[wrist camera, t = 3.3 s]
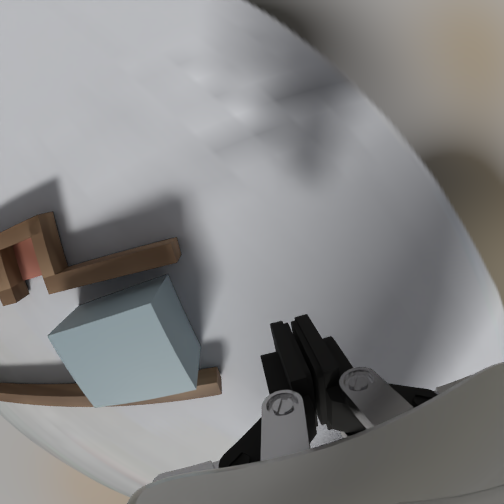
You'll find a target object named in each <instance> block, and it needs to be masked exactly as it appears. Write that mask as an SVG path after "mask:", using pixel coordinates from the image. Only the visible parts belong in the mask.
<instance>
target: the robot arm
mask: <svg viewBox="0 0 504 504" xmlns="http://www.w3.org/2000/svg"><path fill="white" fill-rule="evenodd" d="M270 326H271V331H272V335H273V340H274V345H275V349H276V352H273V353H269V354H265V355H261V360H262V364H263V369H264V373H265V377H266V381H267V385H268V390H269V394H270V395H269V396H267V397H266V398H265V400H264V401H263V404H262V417H261V418H260V419H259V420H258V421H257V422H256V423H255V424H254V425H253V427H252V428H251V429H250V430H249V431H248V432H247V433H246V434H245V435H244V436H243V437H242V438H241V439H240V440H239V441H238V442H237V443H236V444H235V445H233V446H232V447H231V448H230V449H229V450H228V451H227V452H226V453H225V454H224V455H223V456H222V458H221V459H220V461H216V462H213V463H212V461H208V462H204V463H201V464H197V465H193V466H190V467H186V468H182V469H178V470H174V471H169V472H165V473H162V474H159V475H158V476H157V477H156V478H154V480H153V482H152V483H149V484H147V485H145V486H143V487H141V488H140V489H138V490H137V491H136V492H135V493H134V494H133V495H132V496H131V497H130V499H129V501H128V503H127V504H504V362H502V363H498V364H495V365H492V366H490V367H487V368H485V369H483V370H481V371H479V372H477V373H475V374H473V375H470V376H468V377H465V378H462V379H460V380H457V381H454V382H452V383H449V384H446V385H443V386H440V387H437V388H436V390H435V391H432V390H429V389H423V388H415V387H408V386H401V385H395V384H388V383H387V382H385V381H384V380H383V379H382V378H381V377H380V376H379V375H378V374H377V373H376V372H375V371H373V370H372V369H369V368H366V367H357V368H353V367H352V365H351V364H350V362H349V361H348V359H347V358H346V356H345V355H344V353H343V352H342V350H341V349H340V347H339V346H338V344H337V343H336V341H335V340H334V339H333V337H331V336H330V337H327V338H323V339H322V338H321V336H320V334H319V333H318V331H317V330H316V328H315V326H314V325H313V323H312V321H311V320H310V318H309V317H308V315H307V314H305V315H302V316H298V317H295V321H292V322H291V326H292V331H291V329H290V327H289V325H288V323H284V324H283V322H282V321H279V322H275V323H271V324H270ZM292 332H293V333H292ZM317 416H318V418H319V420H320V423H321V425H323V424H326V425H327V427H328V430H331V429H335V430H339V431H341V435H342V437H343V439H340V440H337V441H334V442H331V443H328V444H325V445H322V446H318V447H315V448H312V449H311V448H310V442H311V441H312V440H313V438H314V437H315V436H316V434H317V431H316V427H317V426H318V422H317Z"/></svg>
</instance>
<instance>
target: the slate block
mask: <svg viewBox="0 0 504 504" xmlns="http://www.w3.org/2000/svg"><path fill="white" fill-rule="evenodd" d="M48 338H49V340H50V342H51V343H52V345H53V347H54V348H55V350H56V352H57V353H58V355H59V357H60V358H61V360H62V362H63V363H64V365H65V366H66V368H67V369H68V371H69V373H70V374H71V376H72V377H73V379H74V380H75V381H76V383H77V384H78V386H79V387H80V389H81V390H82V391H83V393H84V394H85V396H86V397H87V398H88V400H89V401H90V402H91V404H92V405H93V406H94V407H95V408H97V407H105V406H112V405H119V404H126V403H132V402H138V401H144V400H149V399H155V398H160V397H165V396H170V395H174V394H179V393H183V392H188V391H192V390H196V388H197V379H198V369H199V360H200V351H201V346H200V344H199V342H198V340H197V338H196V336H195V333H194V331H193V329H192V327H191V325H190V323H189V321H188V319H187V317H186V314H185V312H184V310H183V308H182V306H181V303H180V301H179V299H178V297H177V294H176V292H175V290H174V287H173V285H172V283H171V280H170V278H169V276H168V274H167V275H164V276H161V277H158V278H155V279H153V280H150V281H147V282H144V283H141V284H139V285H136V286H133V287H130V288H127V289H124V290H122V291H119V292H116V293H113V294H110V295H108V296H105V297H102V298H99V299H96V300H94V301H91V302H88V303H85V304H83V305H80V306H78V307H77V308H76V309H75V310H74V311H73V312H72V313H71V314H70V315H68V316H67V317H66V318H65V319H64V320H63V321H62V322H61V323H60V324H59V325H58V326H57V327H56V328H55V329H54V330H53V331H52V332H51V333H50V334H49V335H48Z"/></svg>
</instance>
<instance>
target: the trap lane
mask: <svg viewBox="0 0 504 504" xmlns="http://www.w3.org/2000/svg"><path fill="white" fill-rule="evenodd" d="M180 256H181V251H180V248H179V244H178V240H177V237H175V238H171V239H167V240H163V241H159V242H155V243H152V244H148V245H144V246H140V247H137V248H133V249H129V250H126V251H122V252H118V253H115V254H111V255H107V256H104V257H100V258H97V259H93V260H90V261H86V262H83V263H79V264H76V265H73V266H69V267H68V265H67V262H66V259H65V255H64V252H63V249H62V245H61V242H60V238H59V234H58V231H57V227H56V223H55V219H54V214H53V212H48V213H44V214H39V215H36V216H34V217H32V218H30V219H27V220H25V221H23V222H21V223H19V224H17V225H15V226H13V227H11V228H9V229H7V230H5V231H3V232H1V233H0V299H1V302H2V304H3V306H5V305H9V304H13V303H17V302H18V301H20V300H21V299H22V298H24V297H25V296H27V295H28V294H29V291H28V288H27V286H26V283H25V280H28V279H31V278H34V277H37V276H40V275H42V276H43V279H44V282H45V285H46V287H47V290H48V293H49V294H52V293H56V292H60V291H64V290H68V289H72V288H76V287H80V286H84V285H88V284H92V283H96V282H100V281H104V280H108V279H112V278H117V277H121V276H125V275H129V274H133V273H137V272H141V271H145V270H149V269H153V268H157V267H161V266H166V265H170V264H174V263H177V261H178V260H179V258H180ZM220 394H222V384H221V376H220V373H219V370H218V367H212V368H206V369H201V370H198V379H197V388H196V390H192V391H188V392H183V393H179V394H174V395H170V396H165V397H160V398H155V399H149V400H144V401H138V402H132V403H126V404H119V405H112V406H129V405H143V404H154V403H164V402H173V401H181V400H188V399H195V398H202V397H208V396H214V395H220ZM0 401H5V402H13V403H22V404H32V405H45V406H66V407H94V406H93V405H92V404H91V402H90V401H89V400H88V398H87V397H86V396H85V394H84V393H83V391H82V390H81V389H80V387H79V386H78V384H77V383H76V384H14V383H0ZM105 407H107V406H105Z"/></svg>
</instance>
